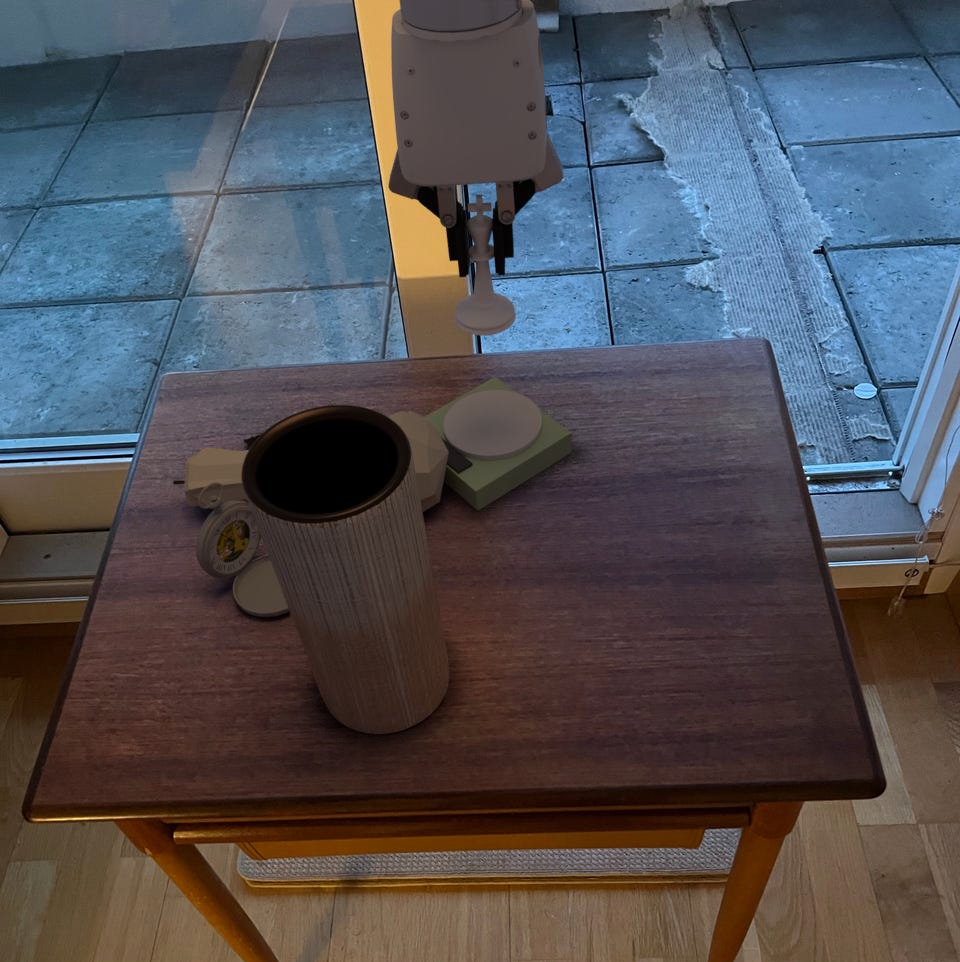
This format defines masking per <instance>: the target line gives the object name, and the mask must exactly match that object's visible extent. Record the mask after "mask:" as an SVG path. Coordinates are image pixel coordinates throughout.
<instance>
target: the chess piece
mask: <svg viewBox="0 0 960 962" xmlns="http://www.w3.org/2000/svg"><path fill="white" fill-rule="evenodd" d="M467 212H468V213H476V215H473V216H471V217H470V218H469V219H467V227H468V233H469V234H470V236H471V240H472V242H473V245H471V246H469V251H468V256H469V258H470V260H471V261H474V262H475V271H474V272H475V273H474V286H473V294H469V295H467V296H465V297H464V298H462V299H461V300H459V302H457V304H456V306H455V309H454V318H453V319H454V323H455V325H456V326H457V327H458V328H459V329H460V330H461V331H463V333H467V334H470V335H473V336H494V335H498V334H500V333H503V332H505V331H506V330H508V329H510V327H511V326H513V325H514V323H515V321H516V316H517V313H516V310H515V305H514V303H513V301H511V299H510V298H508V297H507V296H505V295H503V294H500V293H496V292H495V291H494V284H493V279H492V274H491V267H490V261H491V260H493V259H494V246H493V244H490V241H491V238H492V237H491V236H492V234H493V232H492V220H493V217H491V216H489V215H486V214H484V213H489V212H490V213H491V212H492V202H483V194H481V193H480V194H475V202H468V203H467Z"/></svg>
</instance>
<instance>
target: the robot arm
mask: <svg viewBox="0 0 960 962" xmlns="http://www.w3.org/2000/svg"><path fill="white" fill-rule="evenodd" d="M399 8H400V9H397V11H395V12H394V14H393V15H392V20H391V33H390V35H391V36H390V38H391V39H390V40H391V42H390V46H391V49H390V50H391V52H390V53H391V57H390V58H391V61H390V62H391V84H392V85H391V87H392V101H393V114H394V126H395V137H396V145H397V149H396V151H395V156H394V159H393V164H392V167H391V170H390V174H389V180H388V189H389V191H390V192H391V193H393V194H395V195H398V196H401V197H404V198H407V199H410V200H416V201H418V202H419V204H420V205H422V206H423V207H424V208H426V209H427V210H428V211H429V212H430V213H432V214H433V216H435V217H437V219H439V222H440V224H441V226H443V227H444V228H445V234H446V243H447V252H448V259H449V262H457V268H458V269H457V270H458V276H459V278H467V276H469V275H470V263H471V259H470V258H469V256H468V251H469V248H470V239H469V230H468V227H467V222H468V216H467V210H466V209H464V205H463V204H462V203H461V202H460V201H459V194H458V193H459V192H458V186H462V185H463V186H465V185H480V184H481V185H483V184H495V192H496V193H495V194H496V200H495V202H494V207H493V208H492V219H493V220H492V246H493V247H494V258H493V259H494V271H495V274H497V276H505V275H506V259H513V258H515V244H514V243H515V242H514V241H515V240H514V223H513V222H514V221H515V219H516V215H518V213H519V212H520V211H521V210H522V209H523V208H524V207H525V206H526V205H527V204H528V203H529V202H530V201H531V200H532V198H533V197H534V196H535V195H536V194H538V193H541V192H544V191H545V190H547V189H550V188H551V187H553V186H555V185H557V184H559V183H561V182H562V180H563V179H564V166H563V163H562V161H561V159H560V157H559V154H558V153H557V151H556V148H555V147H554V144H553V142H552V139H551V138H550V135H549V133H548V121H547V119H548V117H547V103H546V101H547V100H546V88H545V87H546V86H545V73H544V71H545V70H544V59H543V58H544V57H543V50H542V49H543V48H542V42H541V34H540V29H539V23H538V19H537V14H536V10H535V5H534V3H533V2H532V1H531V0H399Z"/></svg>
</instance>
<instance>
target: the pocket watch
mask: <svg viewBox="0 0 960 962" xmlns="http://www.w3.org/2000/svg"><path fill="white" fill-rule="evenodd" d="M211 486H219V487H220V490H221V492H220V496H219V497H216V496H211V497H210V500H211V501H210V503H209V506H204V505H202V503H201V498H202V496H203V493H204V492H205V491H206V490H207V489H208V488H210V487H211ZM223 493H224V488H223V485H222V484H221V483H218V482H215V483H211V484H209V485H207V486H206V487H205V488H204V489H203V490H202V491H201V493H200V495H199V499H198V504H199V506H198V507H199V508H201V509H203V510H209V509H210V510H212V511H211V512H210V513H209V515H208V516H207V517H206V519H205V520H204V522H203V523H202V525H201V528H200V529H199V532H198V535H197V538H196V545H195V553H196V554H195V555H196V559H197V563H198V565H199V566H200V568H201V569H202V570H203V571H204V572H205V573H206V574H207V575H208V576H211V577H212V578H214V579H229V578H232V577H235V578H234V581H233V584H232V594H233V598H234V600H235V602H236V604H237V605H238V607H239V608H240V609H241V610H242V611H244V612H245V613H247V614H249V615H251V616H255V617H260V618H261V617H262V618H269V617H270V618H271V617H278V616H281V615H284V614H287V613H290V612H289V609H288V606H287V604H286V601H285V598H284V596H283V593H282V590H281V588H280V585H279V582H278V580H277V577H276V575H275V572H274V569H273V567H272V564H271V561H270V559H269V556H268V553H266V554H263V555H261V556H258V557H256V558H254V556H255V555H256V552H257V551H258V548H259V545H260V542H261V540H262V537H261V535H260V532H259V530H258V527H257V524H256V522H255V519H254V516H253V514H252V511H251V508H250V506H249V503H248V502H244V501H234V500H233V501H229V502H225V503H224V504H222V505H221V503H222V496H223ZM236 522H237V523H236ZM226 549H227V550H228V551H227V552H225V550H226ZM222 555H223V557H221V556H222Z"/></svg>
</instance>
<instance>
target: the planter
mask: <svg viewBox="0 0 960 962" xmlns="http://www.w3.org/2000/svg"><path fill="white" fill-rule="evenodd" d="M387 416H388V415H386V414H384V413H381V412H379V411H377V410H374V409H372V408H368V407H364V406H358V405H351V404H330V405H322V406H316V407H311V408H307V409H305V410H301V411H298V412H295V413H293V414H291V415H288V416H287V417H285V418H283V419H281V420H279V421H278V422H276V423H274V424H273V425H271V426H270V427H268V428H267V429H266V430H265V431H263V432H262V433H263V434H262V435H261V434H260V435H261V436H260V437H259V438H258V439H257V440H256V441H255V442H254V443H253V445H252V446H251V448H250V447H249V449H248V450H249V451H248V453H247V455H246V457H245V459H244V462H243V466H242V472H241V480H242V486H243V489H244V492H245V495H246V498H247V500H248V502H247V503H249V506H250V508H251V511H252V514H253V516H254V519H255V522H256V524H257V527H258V530H259V532H260V535H261V540H262V543H263V545H264V548H265V551H266V554H268V556H269V559H270V561H271V564H272V567H273V569H274V572H275V575H276V577H277V580H278V582H279V585H280V588H281V590H282V593H283V596H284V598H285V601H286V604H287V606H288V609H289V612H288V613H289V615H290V617H291V620H292V622H293V625H294V628H295V630H296V633H297V636H298V638H299V640H300V643H301V647H302V648H303V652H304V654H305V657H306V659H307V663H308V665H309V667H310V670H311V672H312V675H313V677H314V681H315V683H316V686H317V688H318V691H319V693H320V696H321V698H322V700H323V702H324V704H325V706H326V708H327V710H328V711H329V713H330V714H331V715H332V716H333V717H334V718H335V720H337V721H338V722H339V723H340V724H342V725H343V726H345V727H347V728H349V729H351V730H355V731H357V732H360V733H364V734H372V735H386V734H387V735H388V734H394V733H397V732H401V731H406V730H407V729H410V728H411V727H414V726H416V725H418V724H419V723H421V722H423V721H424V720H426V719H427V718H428V717H429V716H430V715H432V713H434V712H435V710H437V709H438V707H439V706H440V705H441V703H442V701H443V700H444V697H445V696H446V694H447V691H448V688H449V684H450V663H449V662H450V661H449V655H448V649H447V643H446V639H445V638H446V637H445V632H444V627H443V621H442V616H441V609H440V603H439V599H438V593H437V586H436V581H435V576H434V570H433V564H432V559H431V553H430V546H429V541H428V535H427V530H426V524H425V519H424V512H422V506H421V500H420V495H419V489H418V483H417V478H416V472H415V466H414V461H413V455H412V450H411V446H410V442H409V440H408V437H407V436H406V434H405V432H404V431H403V430H402V428H401V427H400V426H399V425H398V424H397V423H396V422H394V421H393V420H392V419H390V418H389V417H387Z"/></svg>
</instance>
